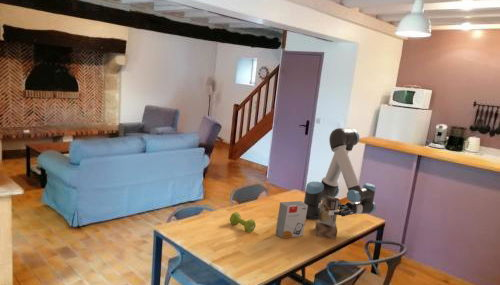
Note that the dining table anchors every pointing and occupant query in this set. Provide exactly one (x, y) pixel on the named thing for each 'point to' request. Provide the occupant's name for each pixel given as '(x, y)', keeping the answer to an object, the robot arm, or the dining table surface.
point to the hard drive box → (291, 219)
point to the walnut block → (325, 230)
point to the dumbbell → (242, 222)
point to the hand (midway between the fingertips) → (323, 209)
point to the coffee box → (328, 205)
